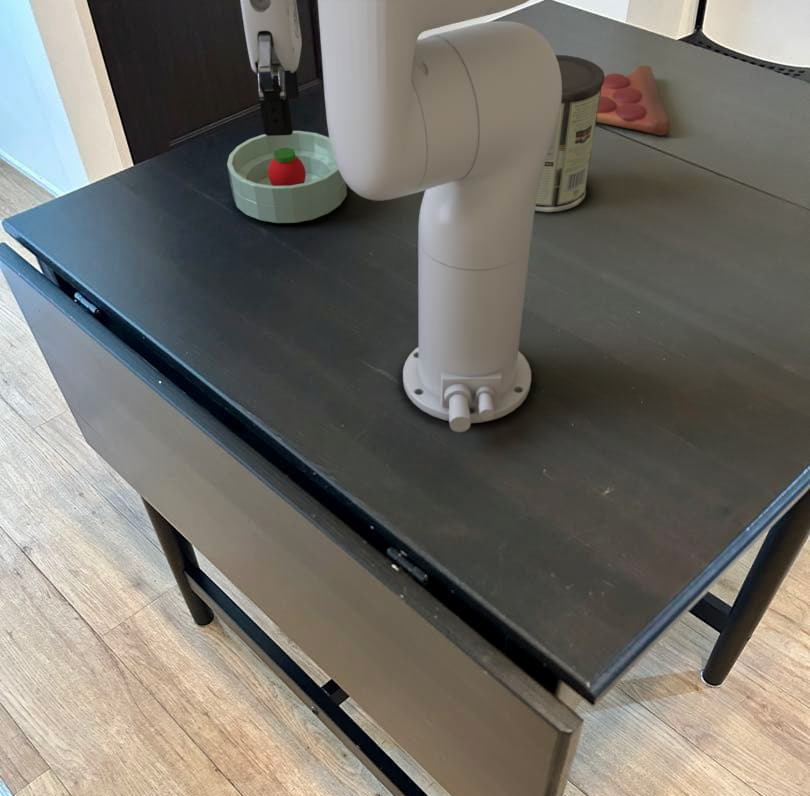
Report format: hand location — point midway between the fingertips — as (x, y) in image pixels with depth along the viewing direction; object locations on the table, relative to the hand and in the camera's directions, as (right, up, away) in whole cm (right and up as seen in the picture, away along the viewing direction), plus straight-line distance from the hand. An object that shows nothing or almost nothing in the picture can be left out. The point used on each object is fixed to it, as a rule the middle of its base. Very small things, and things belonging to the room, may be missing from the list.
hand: (282, 115), depth 97 cm
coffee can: (+32, -6, +8) cm, 33 cm away
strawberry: (0, -6, +8) cm, 10 cm away
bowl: (0, -6, +8) cm, 10 cm away
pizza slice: (+41, +13, +23) cm, 48 cm away
